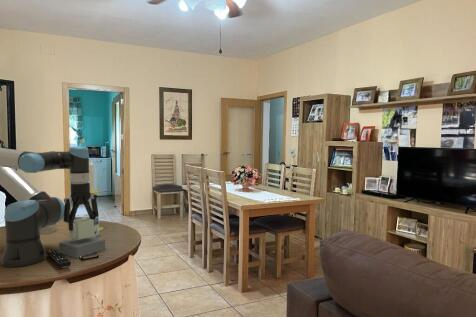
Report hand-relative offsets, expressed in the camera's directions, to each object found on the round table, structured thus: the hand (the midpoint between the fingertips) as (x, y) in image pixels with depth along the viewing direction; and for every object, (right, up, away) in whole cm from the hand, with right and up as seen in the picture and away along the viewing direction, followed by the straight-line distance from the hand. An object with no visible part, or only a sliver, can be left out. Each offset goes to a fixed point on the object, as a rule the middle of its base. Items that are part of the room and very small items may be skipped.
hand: (82, 235), depth 151 cm
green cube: (0, 0, 0) cm, 0 cm away
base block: (0, -7, 0) cm, 7 cm away
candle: (-10, -5, +36) cm, 38 cm away
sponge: (-33, -5, +33) cm, 47 cm away
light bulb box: (-8, -6, +24) cm, 26 cm away
